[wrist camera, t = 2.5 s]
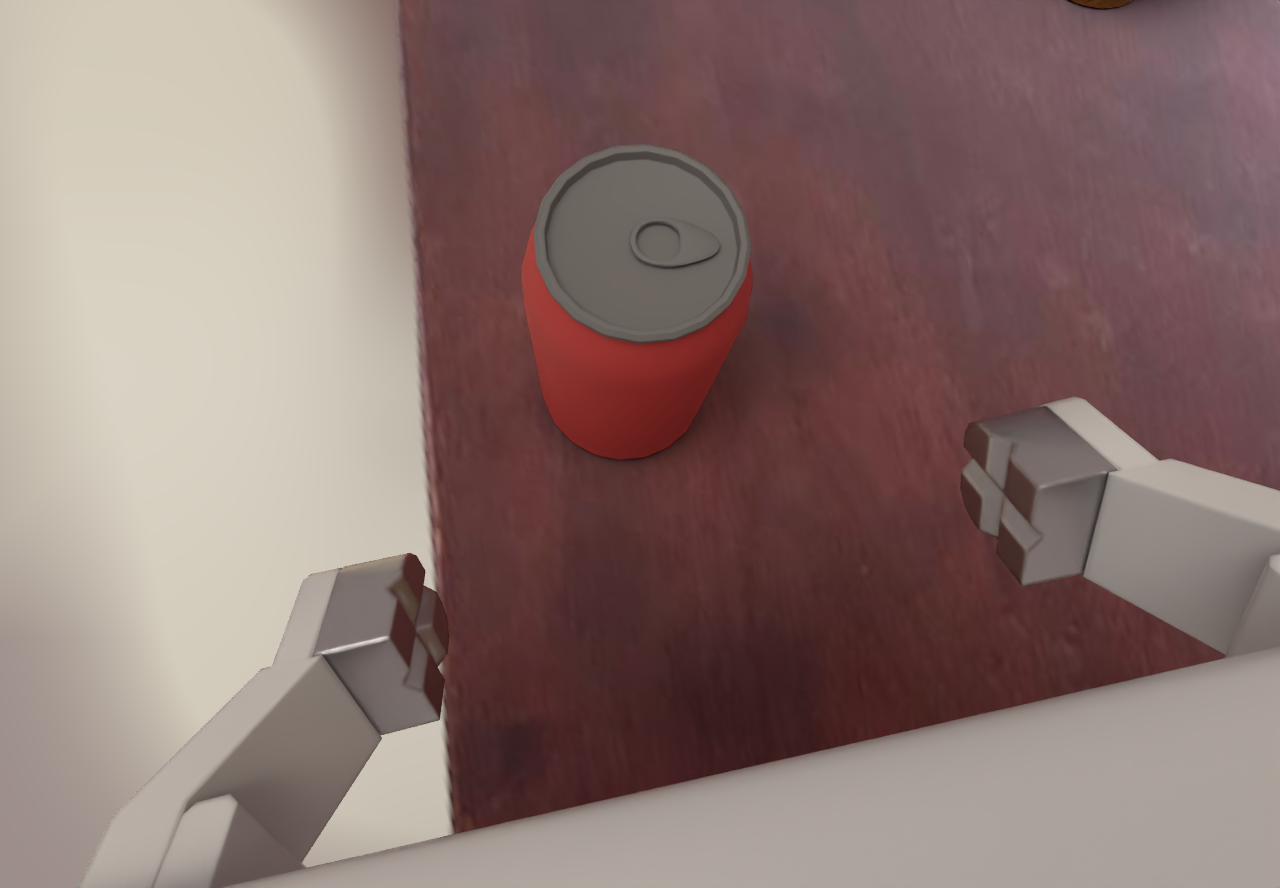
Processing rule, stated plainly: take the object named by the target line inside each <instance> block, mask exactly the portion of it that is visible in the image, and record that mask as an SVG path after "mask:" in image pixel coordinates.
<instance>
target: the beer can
mask: <svg viewBox="0 0 1280 888" xmlns="http://www.w3.org/2000/svg"><path fill="white" fill-rule="evenodd" d="M750 251H751V243H750V237H749V231H748V225H747V219H746V215H745V214H744V212H743V210H742V208H741V206H740V204H739V202H738V201H737V199H736V197H735V195H734V193H733V191H732V189H731V188H730V187H729V186H728V185H727V184H726V183H725V182H724V181H723V180H722V179H721V178H720V177H719V176H718V175H716V174H715V173H714V172H713V171H712V170H711V169H710V168H709V167H708V166H707V165H705V164H703V163H701V162H699V161H697V160H695V159H693V158H691V157H690V156H688V155H686V154H684V153H682V152H680V151H677V150H672V149H667V148H663V147H658V146H653V145H649V144H640V145H625V146H613V147H610V148H608V149H605V150H602V151H599V152H597V153H594V154H591V155H588V156H586V157H583V158H582V159H581V160H579V161H578V162H577V163H575V164H574V165H573V166H571V167H570V168H569V169H567V170H566V171H565V172H563V173H562V174H561V175H560V176H558V178H557V179H556V181H555V182H554V184H553V185H552V187H551V188H550V190H549V191H548V192H547V194H546V195H545V197H544V198H543V200H542V201H541V204H540V208H539V212H538V216H537V219H536V223H535V224H534V226H533V227H532V231H531V234H530V238H529V242H528V246H527V250H526V253H525V257H524V261H523V265H522V269H521V277H522V287H523V298H524V307H525V311H526V316H527V321H528V326H529V331H530V335H531V340H532V345H533V350H534V354H535V359H536V364H537V369H538V373H539V378H540V383H541V388H542V393H543V397H544V401H545V403H546V406H547V408H548V410H549V412H550V414H551V417H552V419H553V421H554V423H555V424H556V425H557V426H558V428H559V429H560V430H561V431H562V432H563V433H564V434H565V435H566V436H567V437H568V438H569V439H570V441H571V442H573V443H575V444H577V445H578V446H580V447H582V448H584V449H585V450H587V451H589V452H591V453H593V454H594V455H599V456H604V457H609V458H614V459H619V460H622V459H632V458H641V457H647V456H649V455H651V454H654V453H656V452H658V451H661V450H663V449H665V448H667V447H669V446H670V445H672V444H673V443H674V442H675V441H676V440H677V439H678V438H679V437H680V436H682V435H683V434H684V433H685V432H686V431H687V430H688V428H689V427H690V425H691V423H692V421H693V419H694V418H695V416H696V414H697V412H698V410H699V409H700V407H701V405H702V403H703V401H704V399H705V397H706V395H707V393H708V391H709V390H710V388H711V386H712V384H713V382H714V380H715V378H716V376H717V374H718V372H719V370H720V368H721V367H722V365H723V363H724V361H725V359H726V357H727V355H728V353H729V351H730V349H731V347H732V346H733V344H734V342H735V340H736V338H737V336H738V334H739V332H740V330H741V328H742V326H743V324H744V323H745V321H746V319H747V314H748V308H749V302H750V296H751V290H752V268H751V262H750Z"/></svg>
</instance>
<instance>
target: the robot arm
mask: <svg viewBox="0 0 1280 888" xmlns="http://www.w3.org/2000/svg"><path fill="white" fill-rule="evenodd" d="M964 447H965V449H966V450H967V451H968V452H969V453H970V455H971V456H972V457H971V459H970V460H969V461H968V463H967V464H966V465H965V466H964V468H963V469H962V470H961V493H962V497H963V501H964V505H965V508H966V510H967V512H968V514H969V516H970V518H971V520H972V521H973V522H974V524H975V525H976V527H977V528H978V529H979V531H981V532H983V533H985V534H987V535H990V536H992V537H994V538H997V539H998V543H997V551H996V553H997V554H998V556H999V557H1000V558H1001V560H1002V561H1003V562H1004V563H1005V565H1006V566H1007V567H1008V569H1009V570H1010V571H1011V573H1012V574H1013V575H1014V576H1015V578H1016V579H1017V580H1018V582H1019V583H1020V584H1021V585H1022V586H1026V585H1031V584H1036V583H1041V582H1046V581H1051V580H1056V579H1061V578H1065V577H1070V576H1075V575H1080V574H1084V575H1083V577H1084V578H1086V579H1088V580H1090V581H1092V582H1094V583H1095V584H1097V585H1099V586H1101V587H1103V588H1104V589H1106V590H1108V591H1110V592H1112V593H1114V594H1115V595H1117V596H1119V597H1121V598H1123V599H1125V600H1126V601H1128V602H1130V603H1132V604H1134V605H1135V606H1137V607H1139V608H1141V609H1143V610H1145V611H1146V612H1148V613H1150V614H1152V615H1154V616H1156V617H1157V618H1159V619H1161V620H1163V621H1165V622H1166V623H1168V624H1170V625H1172V626H1174V627H1176V628H1177V629H1179V630H1181V631H1183V632H1185V633H1187V634H1188V635H1190V636H1192V637H1194V638H1196V639H1197V640H1199V641H1201V642H1203V643H1205V644H1207V645H1208V646H1210V647H1212V648H1214V649H1216V650H1217V651H1219V652H1221V653H1223V654H1225V657H1224V659H1220V660H1216V661H1211V662H1207V663H1203V664H1198V665H1194V666H1189V667H1185V668H1181V669H1176V670H1172V671H1167V672H1163V673H1159V674H1154V675H1150V676H1146V677H1141V678H1137V679H1132V680H1128V681H1124V682H1119V683H1115V684H1110V685H1106V686H1102V687H1097V688H1093V689H1088V690H1084V691H1080V692H1075V693H1071V694H1067V695H1062V696H1058V697H1053V698H1049V699H1045V700H1040V701H1036V702H1032V703H1027V704H1023V705H1019V706H1014V707H1010V708H1006V709H1001V710H997V711H992V712H988V713H984V714H979V715H975V716H971V717H966V718H962V719H958V720H953V721H949V722H945V723H940V724H936V725H932V726H927V727H923V728H918V729H914V730H910V731H905V732H901V733H897V734H892V735H888V736H884V737H879V738H875V739H871V740H866V741H862V742H857V743H853V744H849V745H844V746H840V747H835V748H831V749H827V750H822V751H818V752H813V753H809V754H805V755H800V756H796V757H791V758H787V759H783V760H778V761H774V762H769V763H765V764H761V765H756V766H752V767H747V768H743V769H739V770H734V771H730V772H725V773H721V774H717V775H712V776H708V777H703V778H699V779H695V780H690V781H686V782H681V783H677V784H673V785H668V786H664V787H659V788H655V789H651V790H646V791H642V792H637V793H633V794H629V795H624V796H620V797H615V798H611V799H607V800H602V801H598V802H593V803H589V804H585V805H580V806H576V807H572V808H567V809H563V810H558V811H554V812H550V813H545V814H541V815H536V816H532V817H528V818H523V819H519V820H515V821H510V822H506V823H501V824H497V825H493V826H488V827H484V828H479V829H475V830H471V831H466V832H462V833H458V834H453V835H449V836H444V837H440V838H436V839H431V840H427V841H422V842H419V843H414V844H409V845H405V846H401V847H397V848H392V849H387V850H384V851H379V852H375V853H370V854H366V855H362V856H357V857H352V858H348V859H344V860H339V861H335V862H331V863H326V864H322V865H317V866H314V867H308V868H307V867H306V866H304V865H303V864H302V861H303V860H304V858H305V857H306V855H307V854H308V852H309V850H310V849H311V847H312V846H313V844H314V843H315V841H316V840H317V838H318V837H319V835H320V834H321V832H322V830H323V829H324V827H325V826H326V824H327V822H328V821H329V820H330V818H331V817H332V815H333V813H334V812H335V810H336V809H337V807H338V806H339V804H340V803H341V801H342V800H343V798H344V796H345V795H346V793H347V792H348V790H349V789H350V787H351V786H352V784H353V783H354V781H355V779H356V778H357V776H358V775H359V773H360V772H361V770H362V768H363V767H364V766H365V764H366V762H367V761H368V759H369V758H370V756H371V755H372V753H373V752H374V750H375V749H376V747H377V745H378V744H379V742H380V741H381V739H382V738H381V736H380V735H384V734H388V733H392V732H396V731H400V730H403V729H407V728H411V727H415V726H419V725H423V724H426V723H430V722H434V721H438V720H440V714H441V706H442V698H443V690H444V681H445V680H444V678H443V676H442V674H441V673H440V671H439V669H438V666H439V664H440V663H441V662H442V661H443V659H444V658H445V657H446V655H447V654H448V645H449V631H448V622H447V616H446V613H445V610H444V607H443V604H442V602H441V600H440V598H439V596H438V594H437V592H436V591H434V590H432V589H430V588H428V587H426V586H424V585H423V584H424V578H425V569H424V568H423V566H422V564H421V563H420V561H419V559H418V557H417V556H416V555H413V554H411V553H407V554H403V555H398V556H393V557H388V558H383V559H379V560H374V561H369V562H364V563H360V564H355V565H350V566H345V567H343V568H338V569H334V570H329V571H324V572H320V573H315V574H311V575H309V576H308V577H307V578H306V579H305V580H304V581H303V582H302V585H301V587H300V590H299V593H298V596H297V598H296V601H295V604H294V607H293V610H292V612H291V616H290V618H289V621H288V623H287V626H286V629H285V632H284V635H283V638H282V641H281V643H280V646H279V648H278V651H277V654H276V657H275V660H274V663H273V665H272V666H271V667H267V668H263V669H261V670H260V671H259V672H258V673H257V674H256V675H255V676H254V677H253V678H252V679H251V680H250V681H249V682H248V683H247V684H246V685H245V686H244V687H243V688H242V689H241V690H240V691H239V692H238V693H237V694H236V695H235V696H234V697H233V698H232V699H231V700H230V701H229V702H228V703H227V704H226V705H225V706H224V707H223V708H222V709H221V710H220V711H219V712H218V713H217V714H216V715H215V716H214V717H213V718H211V720H209V721H208V723H207V724H206V725H204V726H203V728H201V729H200V730H199V731H198V732H197V733H196V734H195V735H194V736H193V737H192V738H191V739H190V740H189V741H188V742H187V744H185V745H184V746H183V747H182V748H181V749H180V750H179V751H178V752H177V753H176V754H175V756H173V757H172V758H171V759H170V760H169V761H168V762H167V763H166V764H165V765H164V766H163V767H162V768H161V769H160V770H159V771H158V772H157V773H156V774H155V775H154V776H153V777H152V778H151V779H150V780H149V781H148V782H147V783H146V784H145V785H144V786H143V787H142V788H141V789H140V790H139V791H138V792H137V793H136V794H135V795H134V796H133V797H132V798H131V799H130V800H129V801H128V802H127V803H126V804H125V805H124V806H123V807H122V808H121V809H120V810H119V811H118V812H117V813H116V814H115V815H114V816H113V817H112V818H111V819H110V821H109V823H108V825H107V827H106V829H105V832H104V834H103V836H102V838H101V840H100V842H99V844H98V846H97V848H96V850H95V853H94V854H93V857H92V859H91V861H90V863H89V865H88V867H87V869H86V871H85V873H84V875H83V877H82V880H81V882H80V884H79V886H78V888H1280V491H1279V490H1275V489H1272V488H1268V487H1265V486H1262V485H1258V484H1255V483H1252V482H1248V481H1245V480H1241V479H1238V478H1235V477H1231V476H1228V475H1225V474H1221V473H1218V472H1214V471H1211V470H1208V469H1204V468H1201V467H1198V466H1194V465H1191V464H1187V463H1184V462H1181V461H1177V460H1174V459H1166V460H1162V461H1159V460H1158V459H1156V458H1155V457H1154V456H1153V455H1151V454H1150V453H1149V452H1148V451H1147V450H1145V449H1144V448H1143V447H1142V446H1141V445H1139V444H1138V443H1137V442H1136V441H1134V440H1133V439H1132V438H1131V437H1130V436H1128V435H1127V434H1126V433H1125V432H1123V431H1122V430H1121V429H1120V428H1119V427H1117V426H1116V425H1115V424H1114V423H1112V422H1111V421H1110V420H1109V419H1108V418H1106V417H1105V416H1104V415H1103V414H1102V413H1100V412H1099V411H1098V410H1097V409H1095V408H1094V407H1093V406H1092V405H1091V404H1089V403H1088V402H1087V401H1086V400H1084V399H1081V398H1078V397H1071V398H1067V399H1063V400H1059V401H1055V402H1051V403H1047V404H1043V405H1039V406H1038V407H1035V408H1030V409H1026V410H1022V411H1018V412H1013V413H1009V414H1005V415H1001V416H997V417H992V418H988V419H984V420H980V421H976V422H972V423H969V425H968V427H967V429H966V431H965V437H964Z"/></svg>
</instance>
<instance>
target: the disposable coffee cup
mask: <svg viewBox="0 0 1280 888" xmlns="http://www.w3.org/2000/svg"><path fill="white" fill-rule="evenodd" d="M1071 1H1073V2H1076V3H1078V4H1081V5H1084V6H1090V7H1096V8H1113V7H1118V6H1122V5H1124V4H1126V3H1129V2H1131V1H1133V0H1071Z"/></svg>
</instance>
